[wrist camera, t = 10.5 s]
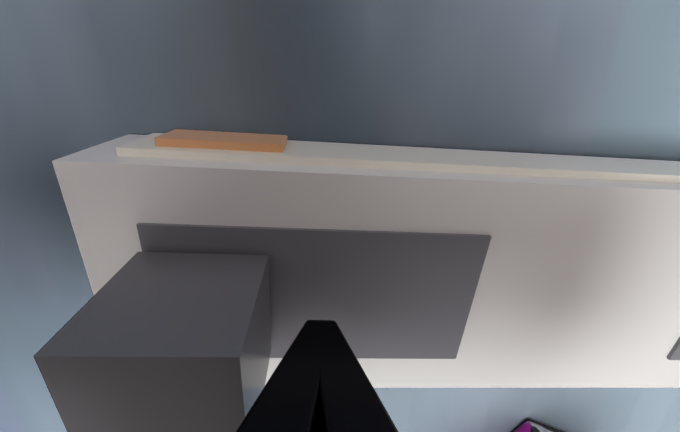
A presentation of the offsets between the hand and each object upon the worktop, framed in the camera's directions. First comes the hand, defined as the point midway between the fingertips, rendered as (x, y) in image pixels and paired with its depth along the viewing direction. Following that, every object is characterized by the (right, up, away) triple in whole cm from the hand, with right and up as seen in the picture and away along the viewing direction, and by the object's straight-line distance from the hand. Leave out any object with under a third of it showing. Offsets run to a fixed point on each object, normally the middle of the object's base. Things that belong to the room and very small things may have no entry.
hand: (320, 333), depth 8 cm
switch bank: (+7, +1, +4) cm, 9 cm away
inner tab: (-3, 0, +1) cm, 3 cm away
